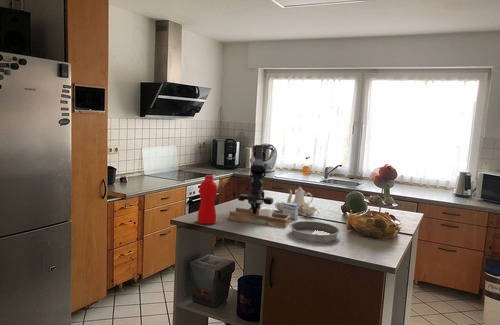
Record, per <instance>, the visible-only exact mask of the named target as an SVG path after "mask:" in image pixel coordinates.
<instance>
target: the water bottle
mask: <svg viewBox="0 0 500 325" xmlns="http://www.w3.org/2000/svg"><path fill="white" fill-rule="evenodd" d="M198 190H199V191H198V192H199V197H200V204H199V208H198V211H197V212H198V213H197V222H198V223H199V224H202V225H213V224H215V223H216V221H217V213H216V212H217V211H216V207H215V206H216V205H215V204H216V199H217V194H218V185H217V183H215V182H214V175H210V174H206V175H204V181H202V182H201V183H200V185H199V189H198Z"/></svg>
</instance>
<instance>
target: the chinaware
mask: <svg viewBox="0 0 500 325" xmlns="http://www.w3.org/2000/svg"><path fill="white" fill-rule="evenodd" d="M288 191H289V195H288V197H287V201H286V202H287V203H293V204H298V205H299V208H298V215H303V214H304V216H305V217H306V218H312V217H315V216H318V215H319V213H320V212H319V211H318V210H317V209H318V208H316V207H314V206H311V207H310V204H311V203H312V202H313V200H314V198H313V195H312V194H311V193H310V192H306V191H305V190H303V188H302V187H301V186H299V187H298V188H297V189H295V190H294V199H293V201H292V198H293V191H292V189H288ZM307 195H309V196H310V197H311V200H310V201H309V202H305V197H307ZM286 202H284V201H281V202H279V201H276V202H275V203H274V208H275V209H276V210H278V213H280V214H283V205H284V203H286ZM316 212H317V214H315V213H316Z"/></svg>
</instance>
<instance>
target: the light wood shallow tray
mask: <svg viewBox="0 0 500 325" xmlns="http://www.w3.org/2000/svg"><path fill="white" fill-rule="evenodd" d="M228 213H229V214H228V217H227V218H228V220H230V221H236V222H237V221H238V222H243V223H244V222H245V223H251V224H257V225H262V226H271V227H277V228H282V229H284V228H285V229H286V228H287V227H288V226H289V225H290V224H291V222H292V220H291V215H285V214H283V213H279V212H278V213H276V212H272V217H267V216H260V215H259V211H257V212H256V214H255V215H254V213H253V210H250V209H247V208H242V207H236V208H235V211H233V210H232V211H231V210H229V212H228Z"/></svg>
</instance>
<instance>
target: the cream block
mask: <svg viewBox="0 0 500 325" xmlns="http://www.w3.org/2000/svg"><path fill="white" fill-rule="evenodd" d="M272 213H273V208H271V207H265V206H264V207H263V206H261V207H260V209H259V215H260V216H267V217H272Z"/></svg>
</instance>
